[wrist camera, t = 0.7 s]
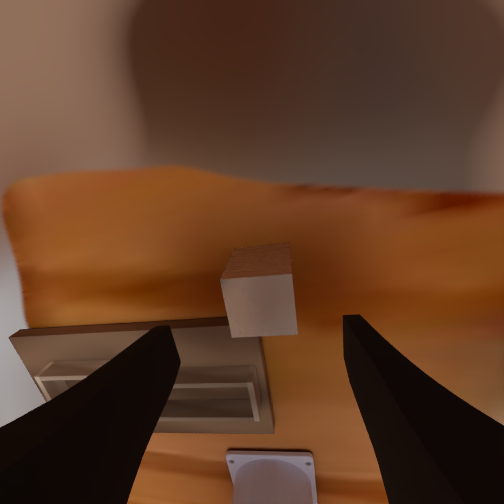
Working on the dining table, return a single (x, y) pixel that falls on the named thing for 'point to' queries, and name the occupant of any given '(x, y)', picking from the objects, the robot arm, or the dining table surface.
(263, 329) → the square peg
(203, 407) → the socket board
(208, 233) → the dining table surface
